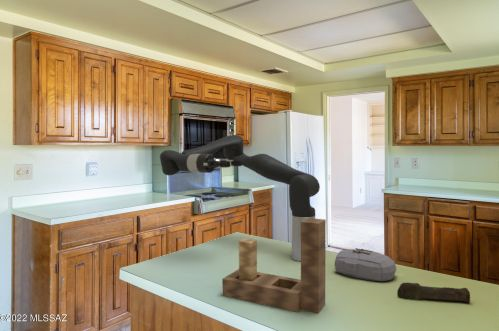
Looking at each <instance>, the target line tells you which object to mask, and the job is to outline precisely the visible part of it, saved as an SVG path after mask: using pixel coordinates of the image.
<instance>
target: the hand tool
mask: <svg viewBox="0 0 499 331" xmlns="http://www.w3.org/2000/svg"><path fill="white" fill-rule="evenodd" d="M396 296H397V297H399V298H402V299H407V300H413V301H414V300H415V301H419V300H421V299H422V300H423V299H425V300H427V299H428V300H440V301H442V300H443V301H451V302H452V301H453V302H465V303H466V304H470V302H471V292H470V290H469V289H468V288H467V287H462V288H461V287H460V288H456V287H455V288H454V287H446V286H445V287H437V286H426V285H425V286H424V285H421V284H420V283H417V282H402V283H400V284H399V287H398V289H397V294H396Z"/></svg>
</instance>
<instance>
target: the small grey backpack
mask: <svg viewBox="0 0 499 331" xmlns="http://www.w3.org/2000/svg"><path fill="white" fill-rule="evenodd" d="M334 270H335V272H336V273H339V274H341V275H344V276H347V277H351V278H355V279H359V280H366V281H375V282H377V281H378V282H385V281H386V282H387V281H390V280H393V279H394V278H395V277H394V276H395V273H396V272H397V265H396V262H395V261H394V260H393V259H392V258H390V256H389V255H386V254H383V253H380V252H376V251H374V250H369V249H364V248H357V247H355V248H353V249H352V248H351V249H350V248H349V249H342V250H340V251H339V252H338V253H337V255H336V256H335V259H334Z"/></svg>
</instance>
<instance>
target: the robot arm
mask: <svg viewBox="0 0 499 331" xmlns="http://www.w3.org/2000/svg"><path fill="white" fill-rule="evenodd" d="M244 143H245V142H244V138H243V137H242V136H241V135H237V134H229V135H227V136H224V137H221V138H219V139H216V140H214V141H211V142H209V143H207V144H205V145H201V146H199V147H194V148H190V149H186V150H182V151H181V152H178V151H176V150H172V149H167V150H163V151H162V152H161V153H160V155H159V158H160V159H159V160H160V165H161V171H162V174H164V175H165V176H174V175H176V174H178V173H179V172H187V173H189V172H190V173H191V172H192V173H202V174H203V173H204V174H210V173H213V172H214V170H216V169H222V168H223V169H225V168H230V167H232V168H233V167H242V166H243V167H245V168H246V169H249V170H251V171H252V172H255V173H256V174H258V175H259V176H261V177H263V178H265V179H267V180H271V181H275V182H278V183H282V184H285V185H287V186H288V185H289V186H288V198H289V199H288V200H289V201H288V202H289V208H290V211H291V259H292V260H294V261H296V262H297V261H298V262H301V222H302V221H303V220H305V219H307V218H314V219H316V209H315V208H316V207H313V206H312V205H311V199H310V198H312V197H314V196H316V195H317V194H318V193H319V192H320V189H321V188H320V182H319V180H318V179H317V177H315V176H314V175H312V174H310V173H306V172H305V171H300V170H299V169H296V168H293V167H291V166H289V165H288V164H286V163H284V162H283V161H280V160H279V159H277V158H275V157H273V156H271V155H269V154H266V153H257V154H254V155H251V156H250V155H248V154H245V153H244ZM221 149H223V156H224V158H218V157H217V158H215V156H214V154H215V153H216V152H218V151H219V150H221Z"/></svg>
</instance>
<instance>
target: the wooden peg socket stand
mask: <svg viewBox="0 0 499 331" xmlns="http://www.w3.org/2000/svg"><path fill="white" fill-rule="evenodd" d="M326 222H327V220H326V219H323V218H315V219H314V218H307V219H305V220H303V221H302V222H301V261H300V278H299V279H298V278H293V277H288V276H283V275H282V276H281V275H276V274H270V273H265V272H261V271H260V272H259V271H257V279H255V280H254V281H252V282H251V281H246V280H241V279H239V268H238V269H236V270H235V271H233V272H231V273H230V274H228V275H226V276H224V277H223V278H222V296H225V297H229V298H233V299H237V300H243V301H248V302H251V303H256V304H260V305H265V306H269V307H273V308H277V309H282V310H287V311H291V312H296V313H299V312H300V311H305V312H306V311H307V312H311V313H316V314H319V313H320V312H321V311H322V310H323V308H324V307H325V306H326V249H327V248H326V246H327V245H326V244H327V243H326V242H327V241H326V239H327V238H326V234H327V232H326V228H327V227H326Z"/></svg>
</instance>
